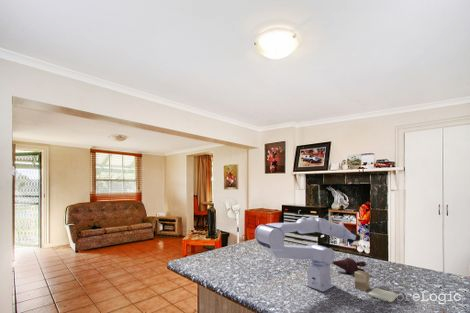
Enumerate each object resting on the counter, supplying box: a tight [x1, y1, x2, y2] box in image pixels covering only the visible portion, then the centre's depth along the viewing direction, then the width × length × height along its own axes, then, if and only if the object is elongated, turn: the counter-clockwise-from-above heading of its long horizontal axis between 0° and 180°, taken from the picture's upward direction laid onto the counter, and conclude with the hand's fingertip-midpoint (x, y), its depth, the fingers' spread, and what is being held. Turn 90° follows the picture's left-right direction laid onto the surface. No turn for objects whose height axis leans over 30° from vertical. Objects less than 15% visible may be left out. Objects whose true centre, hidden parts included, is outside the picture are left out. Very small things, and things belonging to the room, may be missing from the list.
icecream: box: [331, 257, 367, 274], centre depth 120 cm, size 7×7×15 cm
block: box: [354, 270, 371, 292], centre depth 103 cm, size 4×4×6 cm
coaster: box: [367, 287, 400, 304], centre depth 96 cm, size 8×8×1 cm
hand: (351, 235), depth 117 cm, fingers open, 7 cm apart
